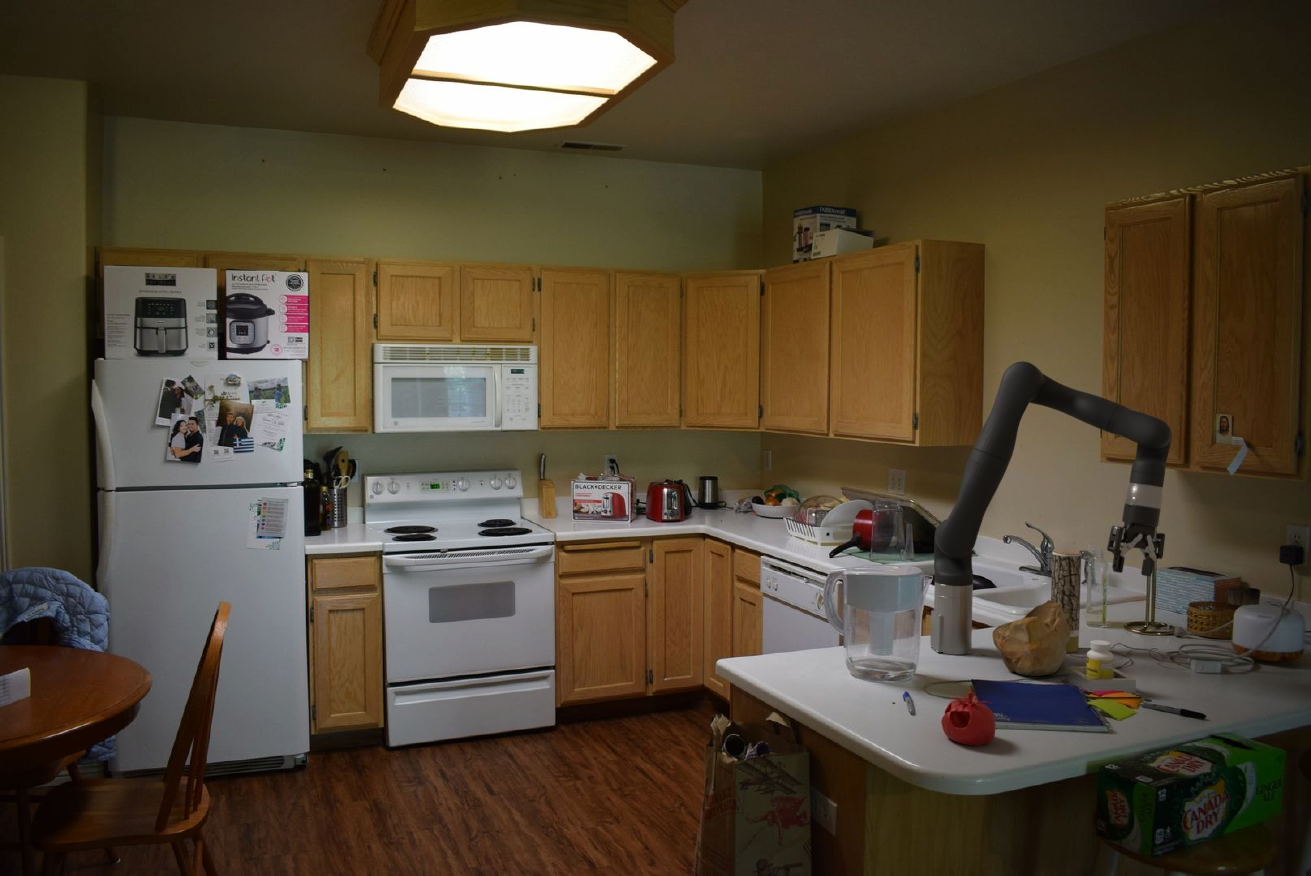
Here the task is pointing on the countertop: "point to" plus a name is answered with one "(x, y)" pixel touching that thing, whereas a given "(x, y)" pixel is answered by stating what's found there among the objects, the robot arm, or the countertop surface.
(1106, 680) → the shallow grey tray
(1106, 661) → the supplement bottle
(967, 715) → the pomegranate
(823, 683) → the countertop surface
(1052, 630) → the rough brown rock
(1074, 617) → the brown bark log
